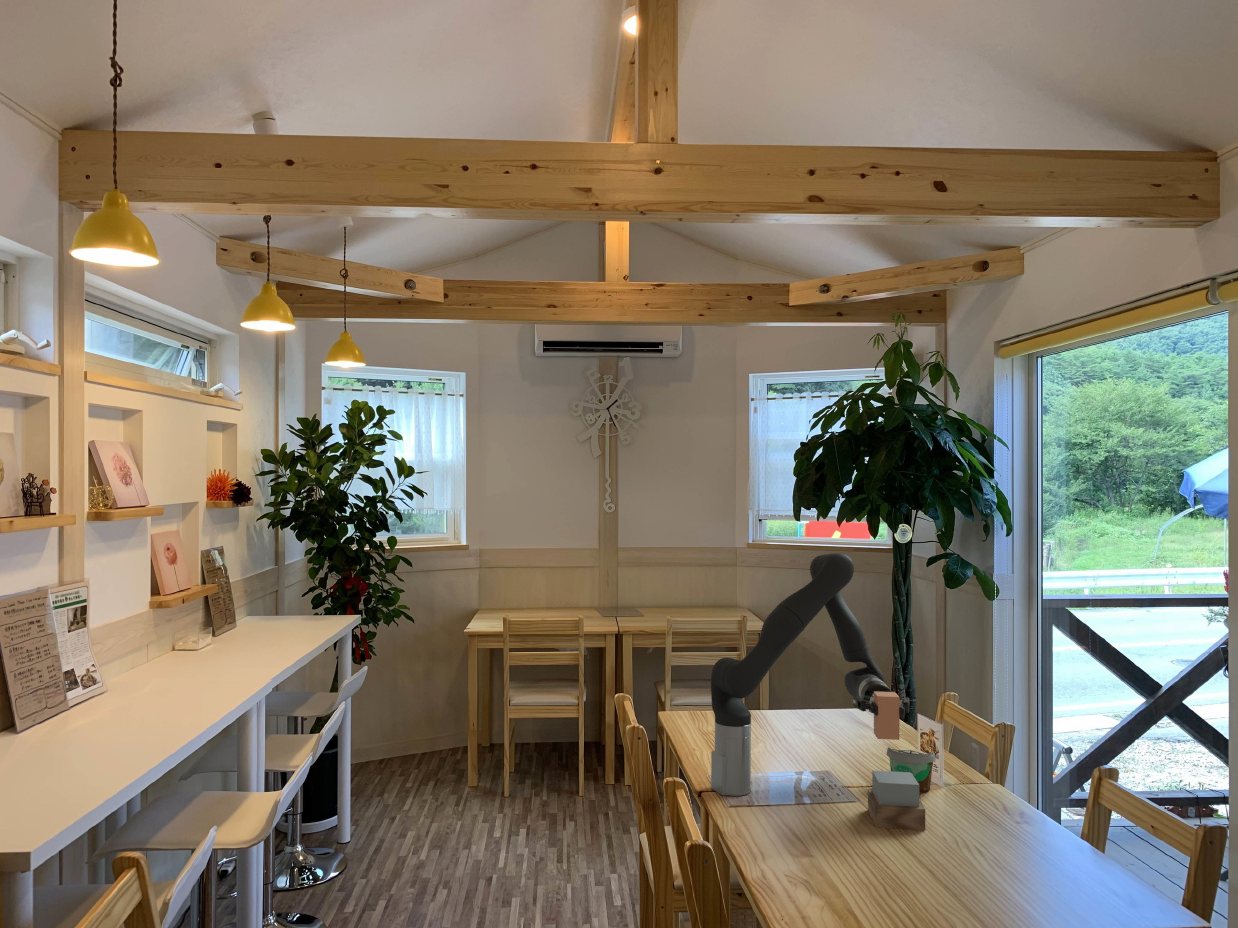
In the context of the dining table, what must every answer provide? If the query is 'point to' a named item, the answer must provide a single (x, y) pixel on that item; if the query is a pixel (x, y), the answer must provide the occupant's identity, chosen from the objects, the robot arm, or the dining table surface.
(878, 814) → the walnut base slab
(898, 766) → the food container
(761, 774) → the dining table surface
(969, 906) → the dining table surface
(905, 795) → the slate top slab
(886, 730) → the terracotta pillar
